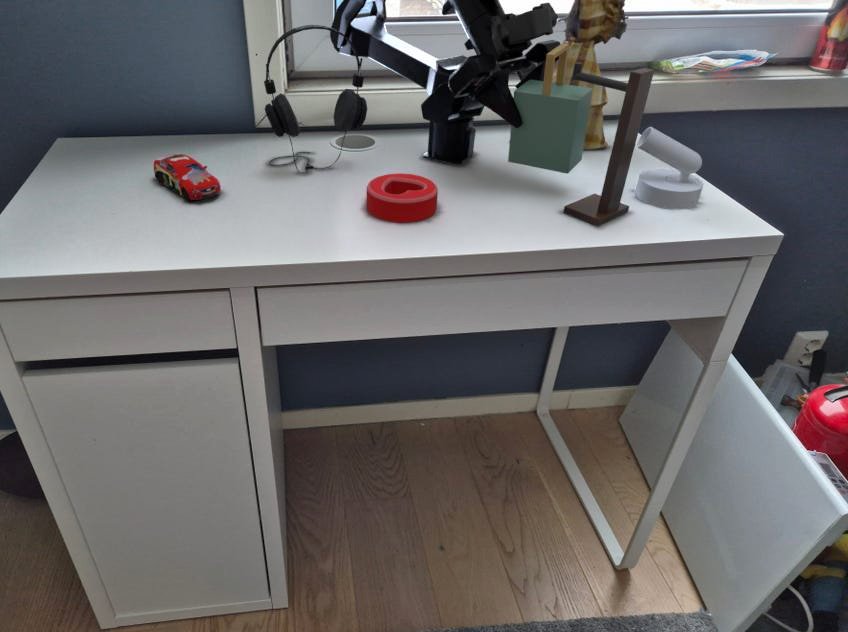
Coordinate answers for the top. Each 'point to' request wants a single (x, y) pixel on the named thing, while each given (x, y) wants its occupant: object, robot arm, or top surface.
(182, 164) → the race car
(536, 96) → the tote bag
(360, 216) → the top surface
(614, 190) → the hook stand
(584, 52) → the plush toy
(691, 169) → the grey spotlight lamp
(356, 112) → the headphones
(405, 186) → the decorative ornament
